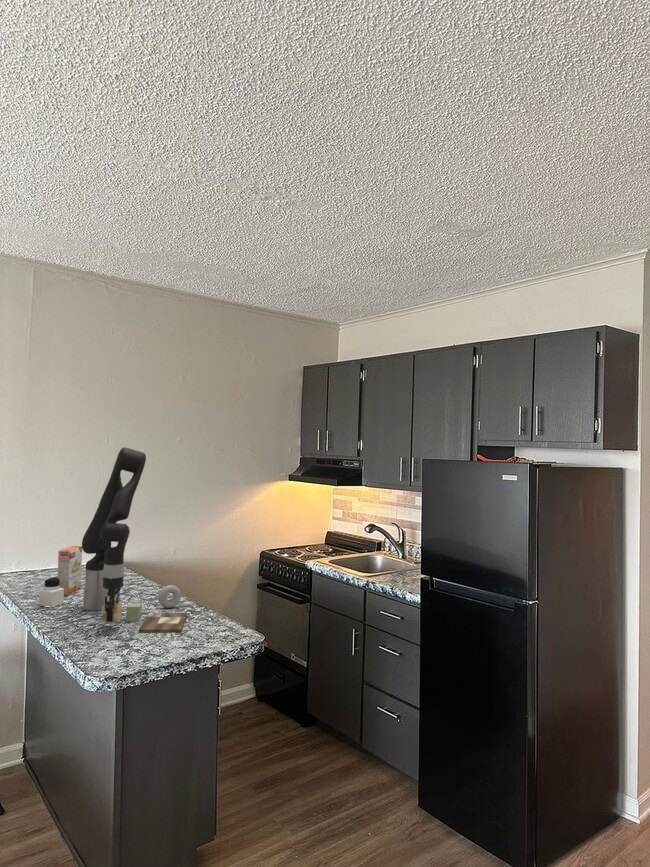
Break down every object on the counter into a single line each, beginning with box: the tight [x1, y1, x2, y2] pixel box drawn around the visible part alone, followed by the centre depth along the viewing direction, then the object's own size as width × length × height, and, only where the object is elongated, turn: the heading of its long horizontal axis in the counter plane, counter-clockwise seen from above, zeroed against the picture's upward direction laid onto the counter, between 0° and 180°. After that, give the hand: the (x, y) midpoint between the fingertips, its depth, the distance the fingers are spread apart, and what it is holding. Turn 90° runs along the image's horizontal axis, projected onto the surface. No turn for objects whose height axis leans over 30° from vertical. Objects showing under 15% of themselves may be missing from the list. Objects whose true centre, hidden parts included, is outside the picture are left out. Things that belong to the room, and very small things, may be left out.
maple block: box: [101, 602, 123, 624], centre depth 237 cm, size 6×6×6 cm
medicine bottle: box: [38, 576, 65, 607], centre depth 268 cm, size 7×7×12 cm
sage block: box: [125, 603, 142, 623], centre depth 251 cm, size 5×5×6 cm
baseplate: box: [138, 612, 188, 634], centre depth 246 cm, size 16×22×1 cm
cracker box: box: [57, 545, 83, 596], centre depth 291 cm, size 14×6×21 cm, turn 179°
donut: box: [157, 584, 182, 609], centre depth 269 cm, size 10×4×10 cm, turn 119°
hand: (111, 618), depth 237 cm, fingers closed on maple block, 6 cm apart
